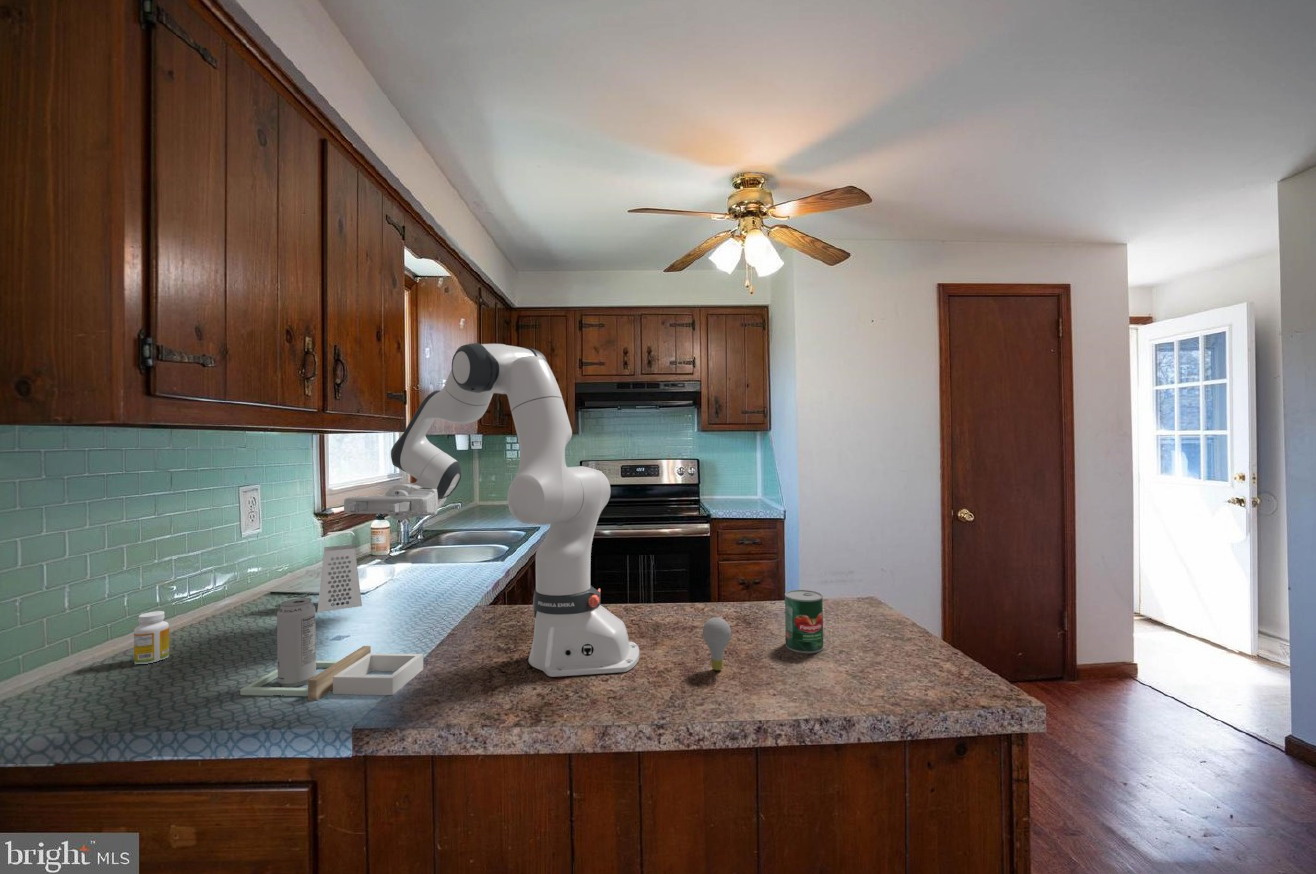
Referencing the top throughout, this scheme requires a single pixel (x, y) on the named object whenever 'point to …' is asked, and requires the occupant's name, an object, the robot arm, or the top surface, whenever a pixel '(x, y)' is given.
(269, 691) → the socket
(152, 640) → the supplement bottle
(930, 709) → the top surface
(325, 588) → the grater
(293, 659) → the energy drink can
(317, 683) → the rail
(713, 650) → the light bulb
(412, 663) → the socket
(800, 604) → the canned tomato
